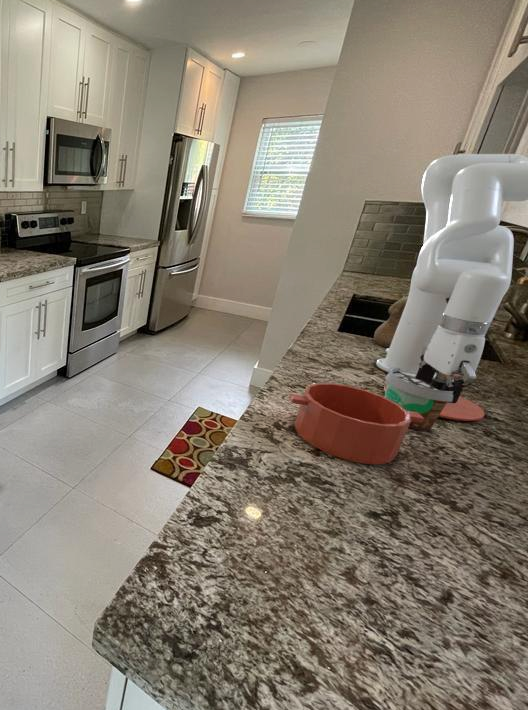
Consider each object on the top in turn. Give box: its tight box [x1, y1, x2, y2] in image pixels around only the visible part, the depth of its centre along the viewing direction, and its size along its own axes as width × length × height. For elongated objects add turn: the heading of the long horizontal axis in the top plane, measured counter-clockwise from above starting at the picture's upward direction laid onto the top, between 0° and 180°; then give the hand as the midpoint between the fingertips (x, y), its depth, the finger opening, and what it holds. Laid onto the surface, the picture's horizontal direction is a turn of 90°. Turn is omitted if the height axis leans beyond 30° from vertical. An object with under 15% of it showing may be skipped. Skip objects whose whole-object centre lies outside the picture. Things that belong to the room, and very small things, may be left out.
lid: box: [383, 377, 485, 422], centre depth 98 cm, size 18×18×6 cm
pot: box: [288, 382, 424, 465], centre depth 83 cm, size 17×22×8 cm
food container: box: [384, 368, 453, 431], centre depth 90 cm, size 12×6×10 cm, turn 5°
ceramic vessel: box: [373, 292, 450, 349], centre depth 126 cm, size 16×22×30 cm
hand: (433, 391), depth 98 cm, fingers open, 9 cm apart
